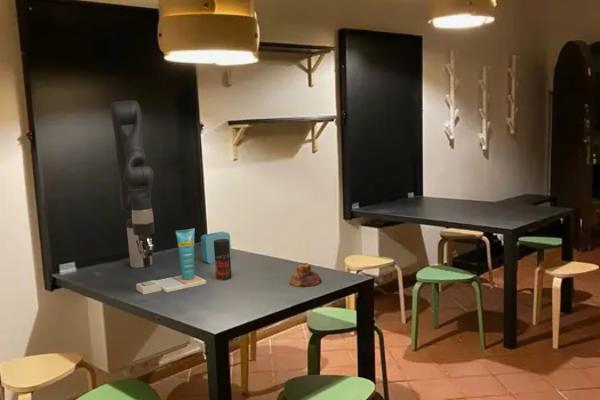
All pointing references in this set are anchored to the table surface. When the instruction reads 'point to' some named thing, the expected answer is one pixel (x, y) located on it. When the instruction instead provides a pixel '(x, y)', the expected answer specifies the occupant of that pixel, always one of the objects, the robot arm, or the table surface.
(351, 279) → the table surface
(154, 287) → the button frame
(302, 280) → the bell
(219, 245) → the deodorant
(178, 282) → the picture card
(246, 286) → the table surface
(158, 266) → the table surface
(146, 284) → the button
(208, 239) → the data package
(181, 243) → the tube
